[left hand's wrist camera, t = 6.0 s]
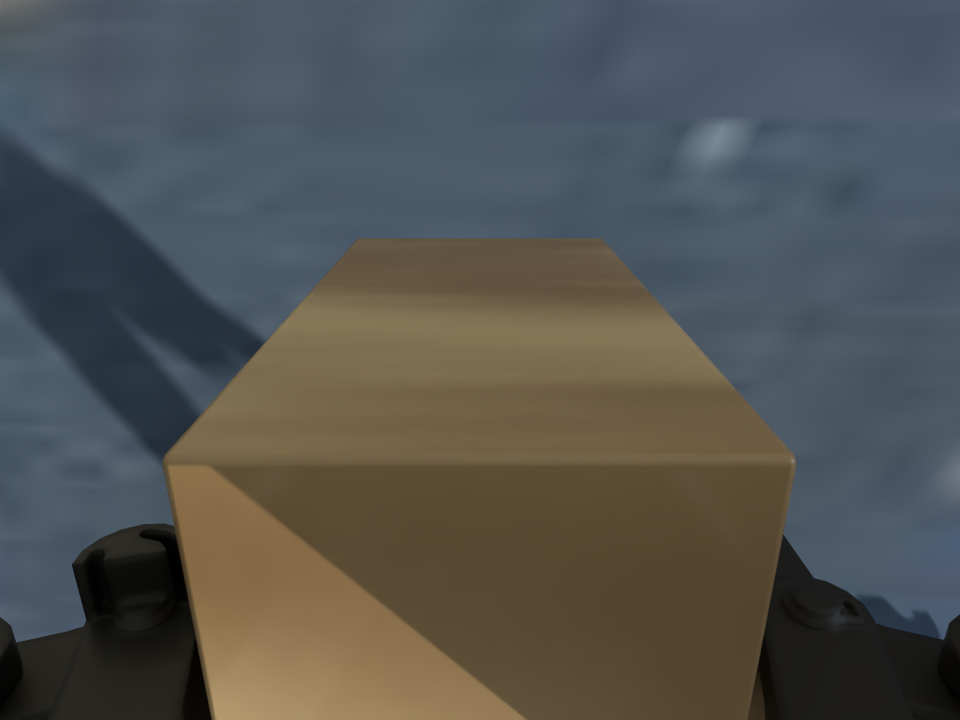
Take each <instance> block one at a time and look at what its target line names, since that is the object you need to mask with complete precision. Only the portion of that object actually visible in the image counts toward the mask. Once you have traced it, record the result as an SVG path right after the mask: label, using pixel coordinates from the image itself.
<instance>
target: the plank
mask: <svg viewBox="0 0 960 720" xmlns="http://www.w3.org/2000/svg"><path fill="white" fill-rule="evenodd" d="M795 469H796V460H795V457H794V454H793V453H792V452H791V451H790V450H789V449H788V447H787V446H786V445H785V444H784V443H783V442H782V441H781V440H780V438H779V437H778V436H777V435H776V434H775V433H774V432H773V431H772V429H771V428H770V427H769V426H768V425H767V424H766V423H765V422H764V420H763V419H762V418H761V417H760V416H759V415H758V414H757V413H756V411H755V410H754V409H753V408H752V407H751V406H750V405H749V404H748V402H747V401H746V400H745V399H744V398H743V397H742V396H741V395H740V393H739V392H738V391H737V390H736V389H735V388H734V387H733V386H732V384H731V383H730V382H729V381H728V380H727V379H726V378H725V377H724V375H723V374H722V373H721V372H720V371H719V370H718V369H717V368H716V366H715V365H714V364H713V363H712V362H711V361H710V360H709V359H708V357H707V356H706V355H705V354H704V353H703V352H702V351H701V350H700V348H699V347H698V346H697V345H696V344H695V343H694V342H693V341H692V339H691V338H690V337H689V336H688V335H687V334H686V333H685V332H684V331H683V329H682V328H681V327H680V326H679V325H678V324H677V323H676V322H675V320H674V319H673V318H672V317H671V316H670V315H669V314H668V313H667V311H666V310H665V309H664V308H663V307H662V306H661V305H660V304H659V302H658V301H657V300H656V299H655V298H654V297H653V296H652V295H651V293H650V292H649V291H648V290H647V289H646V288H645V287H644V286H643V284H642V283H641V282H640V281H639V280H638V279H637V278H636V277H635V275H634V274H633V273H632V272H631V271H630V270H629V269H628V268H627V266H626V265H625V264H624V263H623V262H622V261H621V260H620V259H619V257H618V256H617V255H616V254H615V253H614V252H613V251H612V250H611V248H610V247H609V246H608V245H607V244H606V243H605V242H604V241H603V240H602V239H358V240H356V241H355V242H354V244H353V245H352V246H351V247H350V248H349V249H348V250H347V251H346V252H345V254H344V255H343V256H342V257H341V258H340V259H339V260H338V261H337V263H336V264H335V265H334V266H333V267H332V268H331V269H330V270H329V272H328V273H327V274H326V275H325V276H324V277H323V278H322V279H321V280H320V282H319V283H318V284H317V285H316V286H315V287H314V288H313V289H312V291H311V292H310V293H309V294H308V295H307V296H306V297H305V298H304V300H303V301H302V302H301V303H300V304H299V305H298V306H297V307H296V308H295V310H294V311H293V312H292V313H291V314H290V315H289V316H288V317H287V319H286V320H285V321H284V322H283V323H282V324H281V325H280V326H279V328H278V329H277V330H276V331H275V332H274V333H273V334H272V335H271V336H270V338H269V339H268V340H267V341H266V342H265V343H264V344H263V345H262V347H261V348H260V349H259V350H258V351H257V352H256V353H255V354H254V356H253V357H252V358H251V359H250V360H249V361H248V362H247V363H246V365H245V366H244V367H243V368H242V369H241V370H240V371H239V372H238V373H237V375H236V376H235V377H234V378H233V379H232V380H231V381H230V382H229V384H228V385H227V386H226V387H225V388H224V389H223V390H222V391H221V393H220V394H219V395H218V396H217V397H216V398H215V399H214V400H213V401H212V403H211V404H210V405H209V406H208V407H207V408H206V409H205V410H204V412H203V413H202V414H201V415H200V416H199V417H198V418H197V419H196V421H195V422H194V423H193V424H192V425H191V426H190V427H189V428H188V429H187V431H186V432H185V433H184V434H183V435H182V436H181V437H180V438H179V440H178V441H177V442H176V443H175V444H174V445H173V446H172V447H171V449H170V450H169V451H168V452H167V453H166V454H165V456H164V460H163V470H164V475H165V480H166V485H167V490H168V495H169V501H170V506H171V511H172V516H173V521H174V527H175V532H176V537H177V542H178V547H179V553H180V558H181V563H182V568H183V573H184V578H185V584H186V589H187V594H188V599H189V604H190V610H191V615H192V620H193V625H194V630H195V636H196V641H197V646H198V651H199V656H200V661H201V667H202V672H203V677H204V682H205V687H206V693H207V698H208V703H209V708H210V713H211V718H212V720H747V719H748V714H749V709H750V704H751V698H752V693H753V688H754V683H755V678H756V672H757V667H758V662H759V657H760V651H761V646H762V641H763V636H764V631H765V625H766V620H767V615H768V610H769V605H770V599H771V594H772V589H773V584H774V579H775V573H776V568H777V563H778V558H779V553H780V547H781V542H782V537H783V532H784V527H785V521H786V516H787V511H788V506H789V501H790V495H791V490H792V485H793V480H794V474H795Z"/></svg>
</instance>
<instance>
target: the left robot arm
mask: <svg viewBox="0 0 960 720" xmlns="http://www.w3.org/2000/svg"><path fill="white" fill-rule="evenodd" d="M72 567H73V571H74V575H75V579H76V582H77V586H78V590H79V594H80V598H81V601H82V605H83V609H84V613H85V616H86V623H85V625H84V627H81V628H77V629H74V630H70V631H67V632H63V633H58V634H54V635H49V636H45V637H40V638H36V639H31V640H27V641H22V642H18V643H16V640H15V637H14V634H13V631H12V628H11V626H10V625H9V624H8V623H7V622H6V621H4V620H3V619H2V618H0V720H212V718H211V713H210V708H209V703H208V698H207V693H206V687H205V682H204V677H203V672H202V667H201V661H200V656H199V651H198V646H197V641H196V636H195V630H194V625H193V620H192V615H191V610H190V604H189V599H188V594H187V589H186V584H185V578H184V573H183V568H182V563H181V558H180V553H179V547H178V542H177V537H176V532H175V527H174V526H172V525H168V524H143V525H139V526H135V527H130V528H126V529H122V530H119V531H117V532H115V533H112V534H110V535H108V536H105V537H103V538H101V539H99V540H97V541H96V542H95V543H93V544H92V545H90V546H89V547H87V548H86V549H84V550H83V551H82V552H81V553H80V555H79V556H78V557H77V558H76V560H75V561H74V562H73V564H72ZM747 720H960V615H959V616H957V617H956V618H955V619H954V620H952V621H951V622H950V623H949V626H948V629H947V632H946V635H945V639H944V640H942V639H937V638H933V637H928V636H924V635H919V634H915V633H910V632H905V631H901V630H896V629H892V628H889V627H885V626H882V625H878V624H875V621H874V619H873V618H872V616H871V615H870V613H869V612H868V610H867V609H866V607H865V606H864V605H863V604H862V603H861V602H860V601H858V600H857V599H856V598H855V597H853V596H852V595H851V594H850V593H848V592H847V591H845V590H843V589H841V588H839V587H837V586H835V585H833V584H831V583H829V582H826V581H822V580H819V579H815V578H813V576H812V575H811V573H810V572H809V571H808V569H807V568H806V566H805V565H804V563H803V562H802V561H801V559H800V558H799V556H798V555H797V553H796V552H795V551H794V549H793V548H792V546H791V545H790V543H789V542H788V541H787V539H786V538H785V536H784V535H783V537H782V542H781V547H780V553H779V558H778V563H777V568H776V573H775V579H774V584H773V589H772V594H771V599H770V605H769V610H768V615H767V620H766V625H765V631H764V636H763V641H762V646H761V651H760V657H759V662H758V667H757V672H756V678H755V683H754V688H753V693H752V698H751V704H750V709H749V714H748V719H747Z"/></svg>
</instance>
